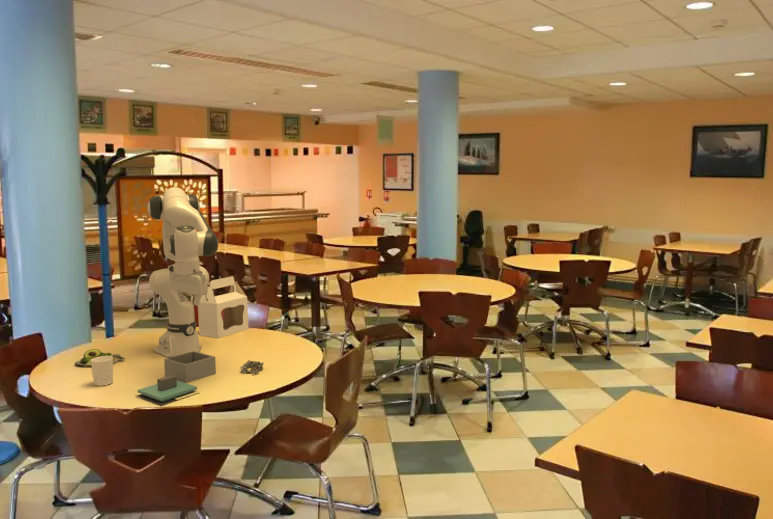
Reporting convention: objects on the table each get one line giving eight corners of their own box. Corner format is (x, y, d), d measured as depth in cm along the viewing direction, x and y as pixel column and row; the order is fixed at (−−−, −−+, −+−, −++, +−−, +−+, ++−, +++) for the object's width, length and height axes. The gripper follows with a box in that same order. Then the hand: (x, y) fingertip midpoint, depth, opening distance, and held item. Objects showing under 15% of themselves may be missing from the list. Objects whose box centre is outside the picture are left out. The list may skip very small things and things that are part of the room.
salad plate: (133, 356, 290) (133, 346, 289) (113, 369, 272) (112, 358, 271) (92, 356, 292) (92, 346, 291) (69, 368, 274) (69, 357, 273)
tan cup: (96, 380, 256) (94, 356, 254) (117, 380, 256) (115, 355, 255) (89, 387, 248) (87, 362, 246) (110, 386, 249) (109, 361, 247)
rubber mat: (135, 396, 237) (135, 395, 237) (173, 385, 249) (173, 384, 249) (161, 406, 227) (161, 404, 227) (199, 393, 240) (199, 392, 240)
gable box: (230, 326, 344) (228, 274, 340) (249, 329, 337) (246, 276, 334) (198, 335, 325) (195, 280, 321) (217, 338, 318) (215, 282, 315)
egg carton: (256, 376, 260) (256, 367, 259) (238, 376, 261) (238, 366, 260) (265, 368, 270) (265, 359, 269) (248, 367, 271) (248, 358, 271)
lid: (137, 395, 237) (136, 379, 236) (173, 384, 249) (172, 369, 248) (161, 404, 228) (160, 387, 227) (197, 392, 240) (196, 376, 239)
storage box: (165, 378, 258) (164, 358, 257) (194, 369, 269) (193, 350, 268) (186, 385, 249) (185, 364, 248) (216, 375, 260) (215, 356, 259)
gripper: (211, 270, 244) (212, 306, 247) (179, 264, 257) (180, 298, 259) (197, 272, 239) (198, 309, 242) (165, 266, 252) (167, 301, 254)
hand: (189, 303), depth 250 cm, fingers open, 8 cm apart
